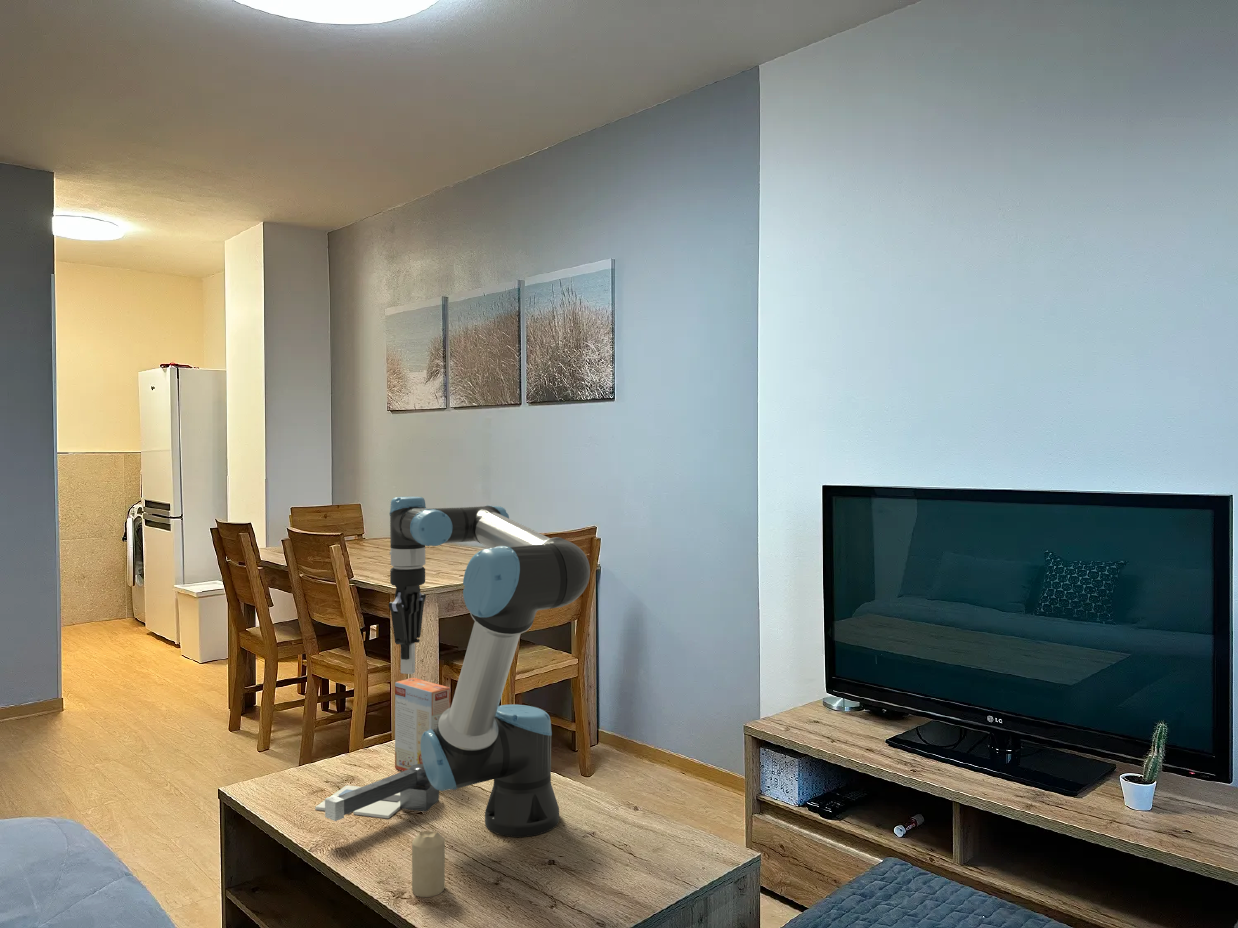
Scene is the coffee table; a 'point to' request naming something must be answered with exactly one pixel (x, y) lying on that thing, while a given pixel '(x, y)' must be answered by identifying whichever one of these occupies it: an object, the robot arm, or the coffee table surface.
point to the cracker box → (416, 717)
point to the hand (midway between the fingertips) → (407, 672)
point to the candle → (428, 864)
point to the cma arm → (374, 792)
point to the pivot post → (419, 798)
